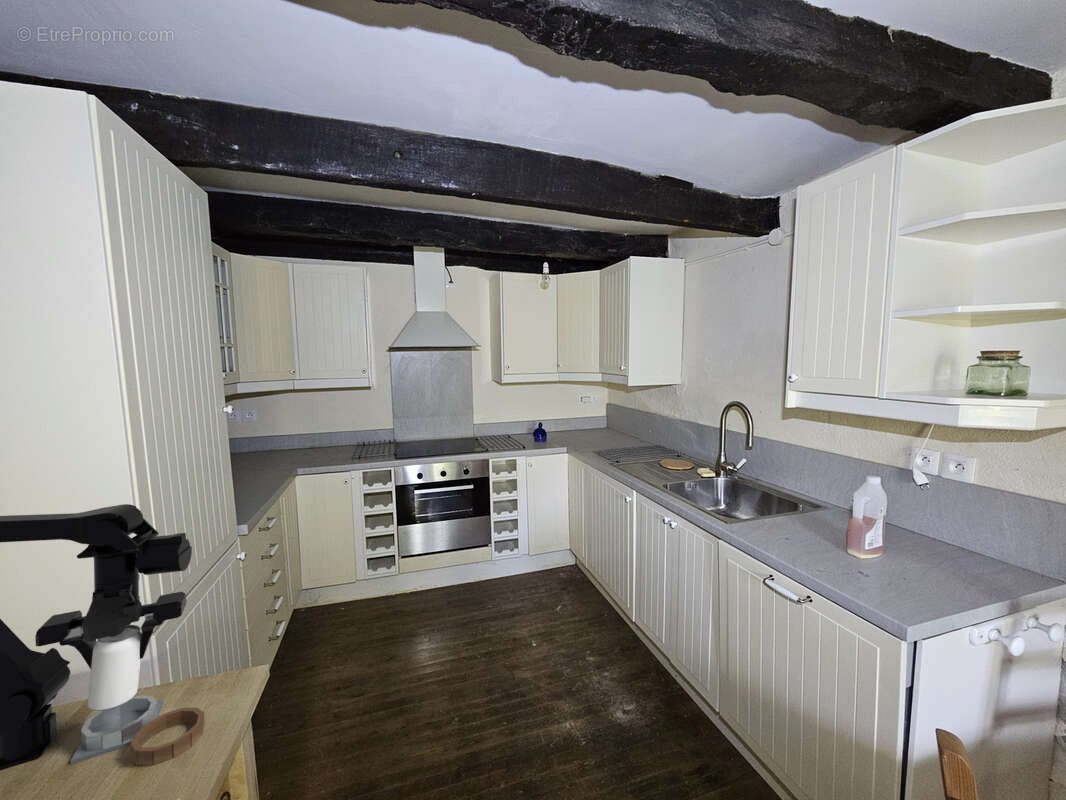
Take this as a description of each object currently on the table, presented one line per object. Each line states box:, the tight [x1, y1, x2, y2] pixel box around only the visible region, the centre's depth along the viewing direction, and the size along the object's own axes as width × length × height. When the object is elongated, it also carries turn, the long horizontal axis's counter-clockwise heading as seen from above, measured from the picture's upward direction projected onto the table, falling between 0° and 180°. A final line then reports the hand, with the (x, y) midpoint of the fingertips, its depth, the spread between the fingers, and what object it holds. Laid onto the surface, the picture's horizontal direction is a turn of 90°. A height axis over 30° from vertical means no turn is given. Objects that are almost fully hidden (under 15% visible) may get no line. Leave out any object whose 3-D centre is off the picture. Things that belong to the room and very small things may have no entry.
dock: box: [70, 695, 164, 765], centre depth 78 cm, size 10×10×3 cm
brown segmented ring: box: [130, 707, 205, 766], centre depth 75 cm, size 10×10×2 cm
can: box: [87, 624, 142, 712], centre depth 77 cm, size 6×6×12 cm
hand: (118, 663), depth 77 cm, fingers closed on can, 6 cm apart
